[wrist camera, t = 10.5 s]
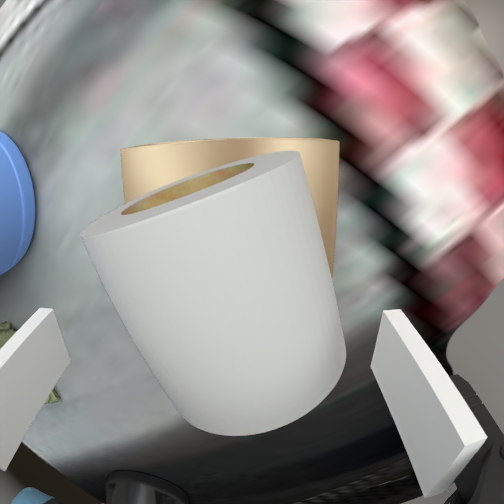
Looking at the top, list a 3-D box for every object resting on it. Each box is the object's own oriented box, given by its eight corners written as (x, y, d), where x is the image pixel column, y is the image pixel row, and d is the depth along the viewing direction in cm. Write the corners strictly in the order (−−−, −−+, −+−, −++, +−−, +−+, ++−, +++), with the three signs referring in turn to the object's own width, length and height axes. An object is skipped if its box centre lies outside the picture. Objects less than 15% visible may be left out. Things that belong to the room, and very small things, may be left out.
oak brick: (168, 288, 29) (146, 332, 23) (153, 143, 24) (120, 149, 18) (311, 287, 29) (326, 332, 22) (317, 137, 24) (339, 141, 18)
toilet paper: (326, 295, 21) (367, 407, 12) (187, 331, 22) (155, 444, 13) (287, 145, 18) (321, 164, 9) (129, 198, 19) (36, 262, 10)
